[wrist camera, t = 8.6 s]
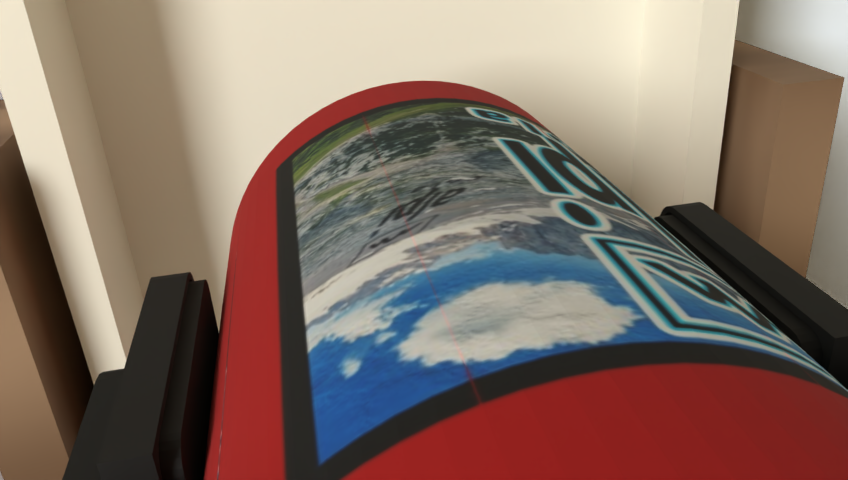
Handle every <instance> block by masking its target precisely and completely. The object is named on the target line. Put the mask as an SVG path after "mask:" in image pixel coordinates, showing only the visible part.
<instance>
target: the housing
mask: <svg viewBox="0 0 848 480" xmlns="http://www.w3.org/2000/svg"><path fill="white" fill-rule="evenodd" d="M843 82H844V77H841V76H838V75H835V74H832V73H829V72H827V71H824V70H821V69H818V68H815V67H812V66H809V65H806V64H804V63H801V62H798V61H795V60H792V59H789V58H786V57H783V56H780V55H778V54H775V53H772V52H769V51H766V50H763V49H760V48H757V47H755V46H752V45H749V44H746V43H743V42H740V41H737V40H735V41H734V49H733V57H732V65H731V73H730V81H729V89H728V97H727V105H726V113H725V121H724V128H723V136H722V144H721V152H720V160H719V168H718V176H717V184H716V192H715V200H714V208H713V210H714V211H715V212H716V213H718V214H719V215H720V216H722V217H723V218H724V219H726V220H727V221H728V222H730V223H731V224H733V225H734V226H735V227H737V228H738V229H739V230H741V231H742V232H743V233H745V234H746V235H747V236H749V237H750V238H751V239H753V240H754V241H756V242H757V243H758V244H760V245H761V246H762V247H764V248H765V249H766V250H768V251H769V252H770V253H772V254H773V255H774V256H776V257H777V258H779V259H780V260H781V261H783V262H784V263H785V264H787V265H788V266H789V267H791V268H792V269H793V270H795V271H796V272H797V273H799V274H800V275H802V276H803V277H804V278H805V277H806V272H807V267H808V262H809V257H810V251H811V246H812V241H813V236H814V231H815V226H816V221H817V215H818V210H819V205H820V200H821V195H822V190H823V185H824V179H825V174H826V169H827V164H828V159H829V154H830V149H831V143H832V138H833V133H834V128H835V123H836V118H837V113H838V107H839V102H840V97H841V92H842V87H843ZM93 387H94V384H93V381H92V377H91V374H90V371H89V368H88V365H87V362H86V358H85V355H84V352H83V349H82V346H81V343H80V339H79V336H78V333H77V330H76V327H75V324H74V320H73V317H72V314H71V311H70V308H69V305H68V301H67V298H66V295H65V292H64V289H63V286H62V282H61V279H60V276H59V273H58V270H57V267H56V263H55V260H54V257H53V254H52V251H51V248H50V245H49V241H48V238H47V235H46V232H45V229H44V226H43V222H42V219H41V216H40V213H39V210H38V207H37V203H36V200H35V197H34V194H33V191H32V188H31V184H30V181H29V178H28V175H27V172H26V169H25V165H24V162H23V159H22V156H21V153H20V150H19V146H18V143H17V140H16V137H15V134H14V131H13V127H12V124H11V121H10V118H9V115H8V112H7V108H6V105H5V102H4V99H3V100H0V471H1V474H2V476H3V478H4V480H62V478H63V475H64V473H65V470H66V467H67V464H68V461H69V458H70V455H71V452H72V449H73V446H74V443H75V440H76V437H77V434H78V431H79V428H80V425H81V423H82V420H83V417H84V414H85V411H86V408H87V405H88V402H89V399H90V396H91V393H92V390H93Z"/></svg>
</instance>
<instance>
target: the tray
mask: <svg viewBox="0 0 848 480" xmlns="http://www.w3.org/2000/svg"><path fill="white" fill-rule="evenodd" d="M739 1H740V0H0V90H1V93H2V96H3V99H4V102H5V105H6V108H7V112H8V115H9V118H10V121H11V124H12V127H13V131H14V134H15V137H16V140H17V143H18V146H19V150H20V153H21V156H22V159H23V162H24V165H25V169H26V172H27V175H28V178H29V181H30V184H31V188H32V191H33V194H34V197H35V200H36V203H37V207H38V210H39V213H40V216H41V219H42V222H43V226H44V229H45V232H46V235H47V238H48V241H49V245H50V248H51V251H52V254H53V257H54V260H55V263H56V267H57V270H58V273H59V276H60V279H61V282H62V286H63V289H64V292H65V295H66V298H67V301H68V305H69V308H70V311H71V314H72V317H73V320H74V324H75V327H76V330H77V333H78V336H79V339H80V343H81V346H82V349H83V352H84V355H85V358H86V362H87V365H88V368H89V371H90V374H91V377H92V381H93V384H95V381H96V379H97V377H98V375H99V374H100V373H102V372H104V371H111V370H117V369H124V367H125V364H126V360H127V357H128V353H129V350H130V346H131V343H132V339H133V336H134V333H135V329H136V326H137V322H138V319H139V315H140V312H141V308H142V305H143V302H144V298H145V295H146V291H147V288H148V284H149V281H150V279H151V277H157V276H165V275H172V274H179V273H186V272H191V274H192V276H193V279H194V281H198V280H205V279H206V280H207V283H208V285H209V290H210V294H211V299H212V303H213V308H214V313H215V317H216V322H217V327H218V331H219V329H220V320H221V312H222V304H223V296H224V289H225V281H226V273H227V266H228V258H229V251H230V243H231V237H232V230H233V225H234V221H235V218H236V214H237V210H238V208H239V205H240V202H241V200H242V197H243V195H244V193H245V191H246V189H247V186H248V184H249V182H250V181H251V179H252V177H253V176H254V174H255V172H256V171H257V169H258V167H259V166H260V165H261V163H262V162H263V161H264V159H265V158H266V157H267V155H268V154H269V153H270V152H271V151H272V149H273V148H274V147H275V146H276V145H277V144H278V143H279V142H280V141H281V140H282V139H283V138H284V137H285V136H286V135H287V134H288V133H289V132H290V131H291V130H292V129H294V128H295V127H296V126H297V125H299V124H300V123H301V122H303V121H304V120H305V119H306V118H308V117H309V116H311V115H313V114H314V113H316V112H317V111H319V110H320V109H322V108H324V107H326V106H328V105H330V104H331V103H333V102H335V101H337V100H339V99H342V98H344V97H346V96H349V95H351V94H354V93H357V92H360V91H363V90H366V89H369V88H372V87H377V86H381V85H385V84H391V83H398V82H405V81H422V80H423V81H443V82H451V83H458V84H463V85H467V86H472V87H475V88H478V89H482V90H485V91H488V92H490V93H493V94H495V95H498V96H500V97H502V98H504V99H506V100H508V101H510V102H512V103H514V104H515V105H517V106H519V107H520V108H522V109H523V110H525V111H526V112H528V113H529V114H530V115H532V116H533V117H534V118H535V119H536V120H538V121H539V122H540V123H541V124H542V125H544V126H545V127H546V128H547V129H548V130H550V131H551V132H552V133H553V134H555V135H556V136H557V137H558V138H559V139H561V140H562V141H563V142H564V143H565V144H567V145H568V146H569V147H570V148H571V149H573V150H574V151H575V152H576V153H577V154H579V155H580V156H581V157H582V158H583V159H585V160H586V161H587V162H588V163H589V164H591V165H592V166H593V167H594V168H595V169H596V170H598V171H599V172H600V173H601V174H602V175H603V176H605V177H606V178H607V179H608V180H609V181H610V182H612V183H613V184H614V185H615V186H616V187H617V188H619V189H620V190H621V191H622V192H623V193H624V194H626V195H627V196H628V197H629V198H630V199H631V200H633V201H634V202H635V203H636V204H637V205H638V206H639V207H641V208H642V209H643V210H644V211H645V212H646V213H648V214H649V215H650V216H651V217H652V218H653V219H654V218H655V217H658V216H660V214H661V212H662V210H663V209H664V208H665V207H667V206H674V205H681V204H688V203H695V202H702V203H704V204H705V205H707V206H708V207H710V208H711V209H712V210H713V208H714V200H715V192H716V184H717V176H718V168H719V160H720V152H721V144H722V136H723V128H724V121H725V113H726V105H727V97H728V89H729V81H730V73H731V65H732V57H733V49H734V41H735V33H736V25H737V17H738V9H739Z"/></svg>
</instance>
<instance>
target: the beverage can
mask: <svg viewBox="0 0 848 480" xmlns="http://www.w3.org/2000/svg"><path fill="white" fill-rule="evenodd" d="M203 480H848V390H847V389H846V388H845V387H844V386H843V385H842V384H840V383H839V382H838V381H837V380H836V379H835V378H834V377H833V376H832V375H830V374H829V373H828V372H827V371H826V370H825V369H824V368H823V367H822V366H820V365H819V364H818V363H817V362H816V361H815V360H814V359H813V358H811V357H810V356H809V355H808V354H807V353H806V352H805V351H804V350H802V349H801V348H800V347H799V346H798V345H797V344H796V343H794V342H793V341H792V340H791V339H790V338H789V337H788V336H787V335H785V334H784V333H783V332H782V331H781V330H780V329H779V328H777V327H776V326H775V325H774V324H773V323H772V322H771V321H770V320H768V319H767V318H766V317H765V316H764V315H763V314H762V313H761V312H759V311H758V310H757V309H756V308H755V307H754V306H753V305H751V304H750V303H749V302H748V301H747V300H746V299H745V298H744V297H742V296H741V295H740V294H739V293H738V292H737V291H736V290H734V289H733V288H732V287H731V286H730V285H729V284H728V283H727V282H725V281H724V280H723V279H722V278H721V277H720V276H719V275H718V274H716V273H715V272H714V271H713V270H712V269H711V268H710V267H708V266H707V265H706V264H705V263H704V262H703V261H702V260H701V259H699V258H698V257H697V256H696V255H695V254H694V253H693V252H691V251H690V250H689V249H688V248H687V247H686V246H685V245H684V244H682V243H681V242H680V241H679V240H678V239H677V238H676V237H674V236H673V235H672V234H671V233H670V232H669V231H667V230H666V229H665V228H664V227H663V226H662V225H660V224H659V223H658V222H657V221H656V220H655V219H653V218H652V217H651V216H650V215H649V214H648V213H646V212H645V211H644V210H643V209H642V208H641V207H639V206H638V205H637V204H636V203H635V202H634V201H633V200H631V199H630V198H629V197H628V196H627V195H626V194H624V193H623V192H622V191H621V190H620V189H619V188H617V187H616V186H615V185H614V184H613V183H612V182H610V181H609V180H608V179H607V178H606V177H605V176H603V175H602V174H601V173H600V172H599V171H598V170H596V169H595V168H594V167H593V166H592V165H591V164H589V163H588V162H587V161H586V160H585V159H583V158H582V157H581V156H580V155H579V154H577V153H576V152H575V151H574V150H573V149H571V148H570V147H569V146H568V145H567V144H565V143H564V142H563V141H562V140H561V139H559V138H558V137H557V136H556V135H555V134H553V133H552V132H551V131H550V130H548V129H547V128H546V127H545V126H544V125H542V124H541V123H540V122H539V121H538V120H536V119H535V118H534V117H533V116H532V115H530V114H529V113H528V112H526V111H525V110H523V109H522V108H520V107H519V106H517V105H515V104H514V103H512V102H510V101H508V100H506V99H504V98H502V97H500V96H498V95H495V94H493V93H490V92H488V91H485V90H482V89H478V88H475V87H472V86H467V85H463V84H458V83H451V82H443V81H423V80H422V81H405V82H398V83H391V84H385V85H381V86H377V87H372V88H369V89H366V90H363V91H360V92H357V93H354V94H351V95H349V96H346V97H344V98H342V99H339V100H337V101H335V102H333V103H331V104H330V105H328V106H326V107H324V108H322V109H320V110H319V111H317V112H316V113H314V114H313V115H311V116H309V117H308V118H306V119H305V120H304V121H303V122H301V123H300V124H299V125H297V126H296V127H295V128H294V129H292V130H291V131H290V132H289V133H288V134H287V135H286V136H285V137H284V138H283V139H282V140H281V141H280V142H279V143H278V144H277V145H276V146H275V147H274V148H273V149H272V151H271V152H270V153H269V154H268V155H267V157H266V158H265V159H264V161H263V162H262V163H261V165H260V166H259V167H258V169H257V171H256V172H255V174H254V176H253V177H252V179H251V181H250V182H249V184H248V186H247V189H246V191H245V193H244V195H243V197H242V200H241V202H240V205H239V208H238V210H237V214H236V218H235V221H234V225H233V230H232V237H231V243H230V251H229V258H228V266H227V273H226V281H225V289H224V296H223V304H222V312H221V320H220V329H219V338H218V347H217V355H216V364H215V373H214V382H213V390H212V399H211V409H210V418H209V428H208V438H207V447H206V457H205V467H204V476H203Z"/></svg>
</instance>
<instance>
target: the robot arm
mask: <svg viewBox="0 0 848 480" xmlns="http://www.w3.org/2000/svg"><path fill="white" fill-rule="evenodd" d="M654 219H655V220H656V221H657V222H658V223H659V224H660V225H662V226H663V227H664V228H665V229H666V230H667V231H669V232H670V233H671V234H672V235H673V236H674V237H676V238H677V239H678V240H679V241H680V242H681V243H682V244H684V245H685V246H686V247H687V248H688V249H689V250H690V251H691V252H693V253H694V254H695V255H696V256H697V257H698V258H699V259H701V260H702V261H703V262H704V263H705V264H706V265H707V266H708V267H710V268H711V269H712V270H713V271H714V272H715V273H716V274H718V275H719V276H720V277H721V278H722V279H723V280H724V281H725V282H727V283H728V284H729V285H730V286H731V287H732V288H733V289H734V290H736V291H737V292H738V293H739V294H740V295H741V296H742V297H744V298H745V299H746V300H747V301H748V302H749V303H750V304H751V305H753V306H754V307H755V308H756V309H757V310H758V311H759V312H761V313H762V314H763V315H764V316H765V317H766V318H767V319H768V320H770V321H771V322H772V323H773V324H774V325H775V326H776V327H777V328H779V329H780V330H781V331H782V332H783V333H784V334H785V335H787V336H788V337H789V338H790V339H791V340H792V341H793V342H794V343H796V344H797V345H798V346H799V347H800V348H801V349H802V350H804V351H805V352H806V353H807V354H808V355H809V356H810V357H811V358H813V359H814V360H815V361H816V362H817V363H818V364H819V365H820V366H822V367H823V368H824V369H825V370H826V371H827V372H828V373H829V374H830V375H832V376H833V377H834V378H835V379H836V380H837V381H838V382H839V383H840V384H842V385H843V386H844V387H845V388H846V389H847V390H848V309H846V308H845V307H843V306H842V305H841V304H839V303H838V302H837V301H835V300H834V299H833V298H831V297H830V296H829V295H827V294H826V293H825V292H823V291H822V290H820V289H819V288H818V287H816V286H815V285H814V284H812V283H811V282H810V281H808V280H807V279H806V278H804V277H803V276H802V275H800V274H799V273H797V272H796V271H795V270H793V269H792V268H791V267H789V266H788V265H787V264H785V263H784V262H783V261H781V260H780V259H779V258H777V257H776V256H774V255H773V254H772V253H770V252H769V251H768V250H766V249H765V248H764V247H762V246H761V245H760V244H758V243H757V242H756V241H754V240H753V239H751V238H750V237H749V236H747V235H746V234H745V233H743V232H742V231H741V230H739V229H738V228H737V227H735V226H734V225H733V224H731V223H730V222H728V221H727V220H726V219H724V218H723V217H722V216H720V215H719V214H718V213H716V212H715V211H714V210H712V209H711V208H710V207H708V206H707V205H705V204H704V203H702V202H695V203H688V204H681V205H674V206H667V207H665V208H664V209H663V210H662V212H661V214H660V216H658V217H655V218H654ZM218 338H219V331H218V327H217V322H216V317H215V313H214V308H213V303H212V299H211V294H210V290H209V285H208V283H207V280H206V279H205V280H198V281H194V279H193V276H192V274H191V272H186V273H179V274H172V275H165V276H157V277H151V279H150V281H149V284H148V288H147V291H146V295H145V298H144V302H143V305H142V308H141V312H140V315H139V319H138V322H137V326H136V329H135V333H134V336H133V339H132V343H131V346H130V350H129V353H128V357H127V360H126V364H125V367H124V369H117V370H111V371H104V372H102V373H100V374H99V375H98V377H97V379H96V381H95V384H94V387H93V390H92V393H91V396H90V399H89V402H88V405H87V408H86V411H85V414H84V417H83V420H82V423H81V425H80V428H79V431H78V434H77V437H76V440H75V443H74V446H73V449H72V452H71V455H70V458H69V461H68V464H67V467H66V470H65V473H64V475H63V478H62V480H203V476H204V467H205V457H206V447H207V438H208V428H209V418H210V409H211V399H212V390H213V382H214V373H215V364H216V355H217V347H218Z"/></svg>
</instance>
